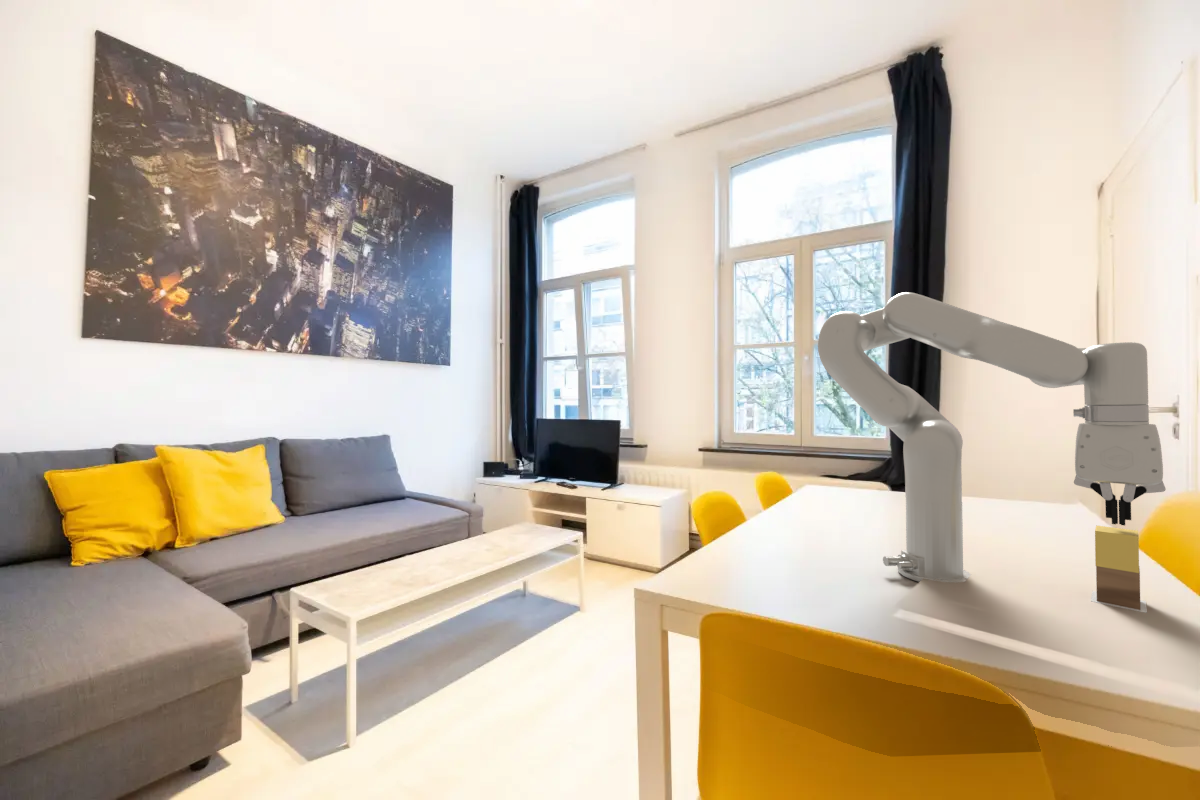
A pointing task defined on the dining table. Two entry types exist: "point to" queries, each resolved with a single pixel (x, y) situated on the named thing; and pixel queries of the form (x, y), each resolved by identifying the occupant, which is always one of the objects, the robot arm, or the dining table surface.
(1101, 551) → the mustard block
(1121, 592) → the walnut block
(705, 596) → the dining table surface
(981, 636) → the dining table surface
